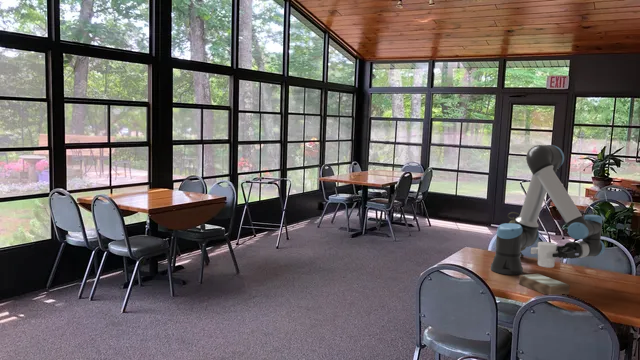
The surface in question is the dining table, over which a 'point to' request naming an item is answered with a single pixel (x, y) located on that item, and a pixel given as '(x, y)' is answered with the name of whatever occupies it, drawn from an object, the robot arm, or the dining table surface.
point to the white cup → (542, 250)
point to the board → (544, 284)
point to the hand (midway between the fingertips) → (538, 253)
